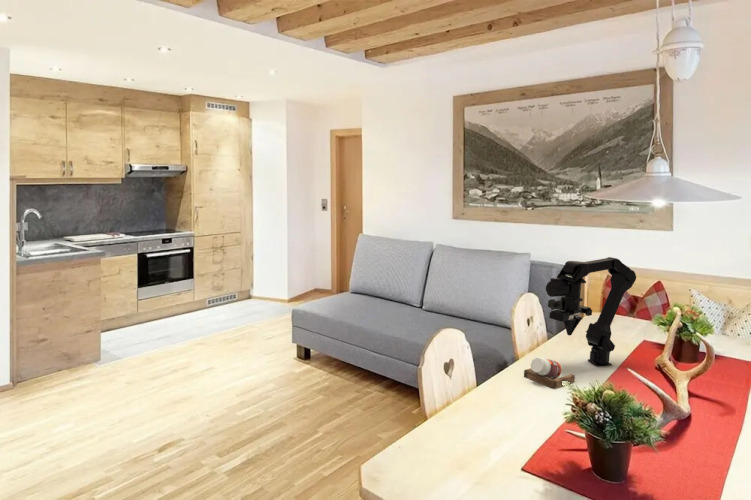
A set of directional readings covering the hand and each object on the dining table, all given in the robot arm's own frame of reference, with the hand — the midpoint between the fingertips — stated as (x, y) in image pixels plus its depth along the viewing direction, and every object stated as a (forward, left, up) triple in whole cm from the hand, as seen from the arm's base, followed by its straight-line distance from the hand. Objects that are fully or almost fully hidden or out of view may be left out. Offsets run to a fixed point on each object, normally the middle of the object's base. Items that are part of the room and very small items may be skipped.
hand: (569, 335), depth 198 cm
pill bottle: (+10, +7, -10) cm, 16 cm away
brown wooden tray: (+13, +8, -13) cm, 20 cm away
